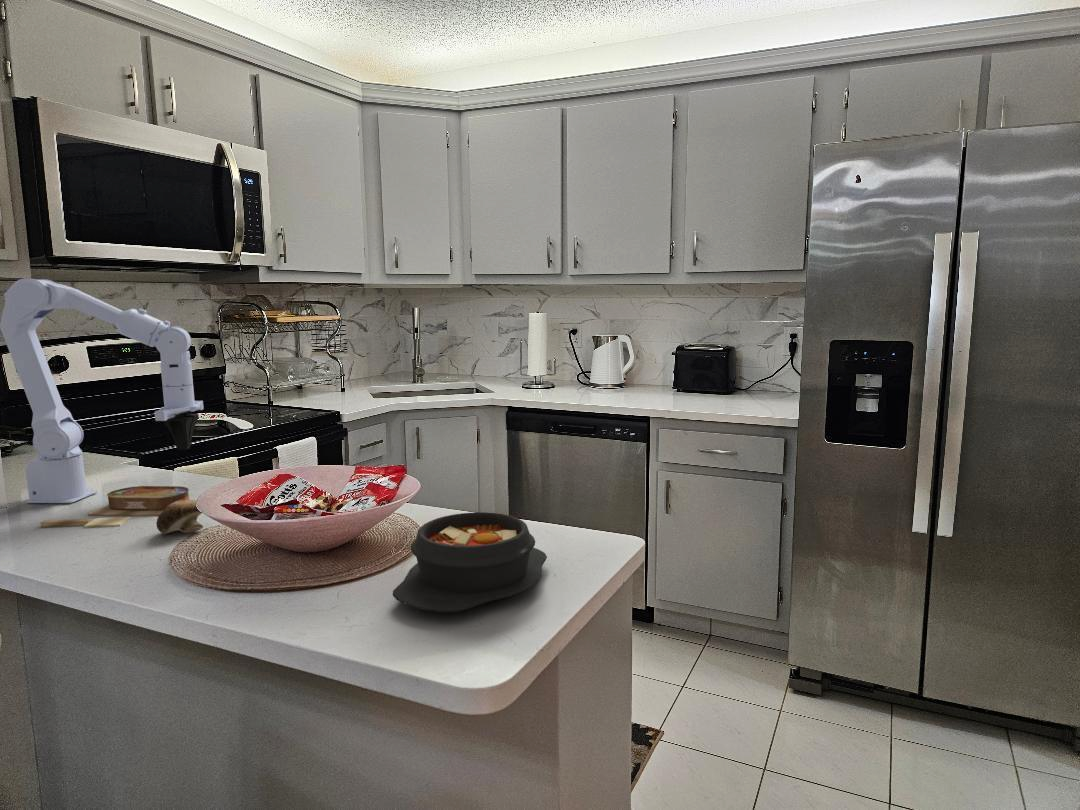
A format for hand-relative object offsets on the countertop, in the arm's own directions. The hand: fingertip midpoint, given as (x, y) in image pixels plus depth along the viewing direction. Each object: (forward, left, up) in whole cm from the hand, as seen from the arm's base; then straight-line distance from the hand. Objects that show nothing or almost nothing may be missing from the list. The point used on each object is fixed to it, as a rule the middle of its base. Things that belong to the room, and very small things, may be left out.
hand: (183, 448), depth 150 cm
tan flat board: (0, -15, -8) cm, 17 cm away
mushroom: (+15, -28, -9) cm, 33 cm away
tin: (0, -9, -7) cm, 11 cm away
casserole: (+69, -50, -9) cm, 86 cm away
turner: (-5, -24, -9) cm, 26 cm away
